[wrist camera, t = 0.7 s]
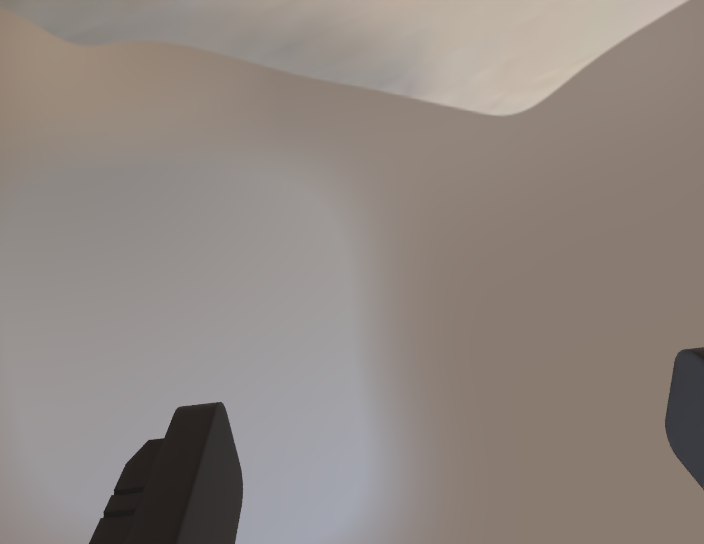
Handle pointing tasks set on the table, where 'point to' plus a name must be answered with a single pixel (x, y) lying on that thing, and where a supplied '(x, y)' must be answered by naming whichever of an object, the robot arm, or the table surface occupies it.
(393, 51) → the table surface
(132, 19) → the table surface
